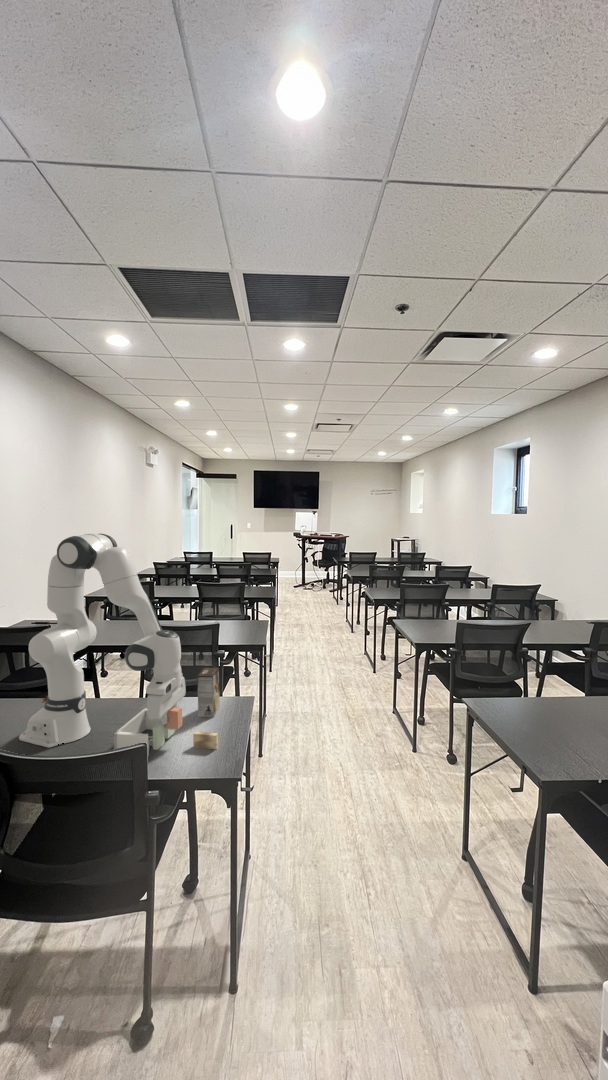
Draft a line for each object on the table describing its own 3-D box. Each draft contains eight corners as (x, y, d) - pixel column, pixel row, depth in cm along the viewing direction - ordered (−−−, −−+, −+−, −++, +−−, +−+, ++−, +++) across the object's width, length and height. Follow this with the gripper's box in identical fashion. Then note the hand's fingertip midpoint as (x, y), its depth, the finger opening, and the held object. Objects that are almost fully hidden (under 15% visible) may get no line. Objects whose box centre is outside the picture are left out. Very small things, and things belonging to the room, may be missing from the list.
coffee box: (204, 706, 179) (203, 667, 178) (220, 707, 179) (219, 667, 178) (197, 717, 170) (197, 675, 169) (214, 717, 169) (213, 675, 169)
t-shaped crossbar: (153, 749, 145) (152, 716, 144) (170, 731, 157) (170, 700, 156) (172, 751, 144) (171, 717, 143) (188, 733, 155) (187, 702, 155)
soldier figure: (137, 752, 147) (147, 725, 158) (149, 760, 148) (159, 732, 159) (151, 739, 145) (161, 712, 156) (163, 747, 146) (172, 719, 157)
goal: (114, 754, 143) (113, 733, 143) (145, 726, 162) (145, 708, 162) (146, 758, 142) (145, 736, 141) (173, 729, 160) (173, 710, 160)
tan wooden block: (193, 747, 148) (193, 733, 148) (195, 744, 150) (195, 731, 149) (216, 749, 147) (216, 735, 146) (218, 746, 148) (218, 733, 148)
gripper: (173, 668, 160) (173, 706, 161) (142, 690, 140) (143, 734, 141) (190, 669, 159) (190, 707, 160) (161, 692, 139) (162, 735, 139)
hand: (168, 720), depth 150 cm, fingers closed on t-shaped crossbar, 3 cm apart
